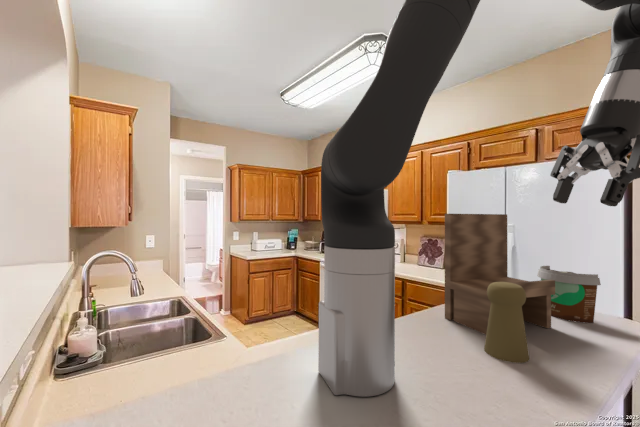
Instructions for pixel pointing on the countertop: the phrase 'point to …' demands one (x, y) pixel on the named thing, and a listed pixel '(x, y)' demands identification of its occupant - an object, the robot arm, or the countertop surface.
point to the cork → (506, 323)
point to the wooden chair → (485, 272)
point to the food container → (572, 294)
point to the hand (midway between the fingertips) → (581, 203)
